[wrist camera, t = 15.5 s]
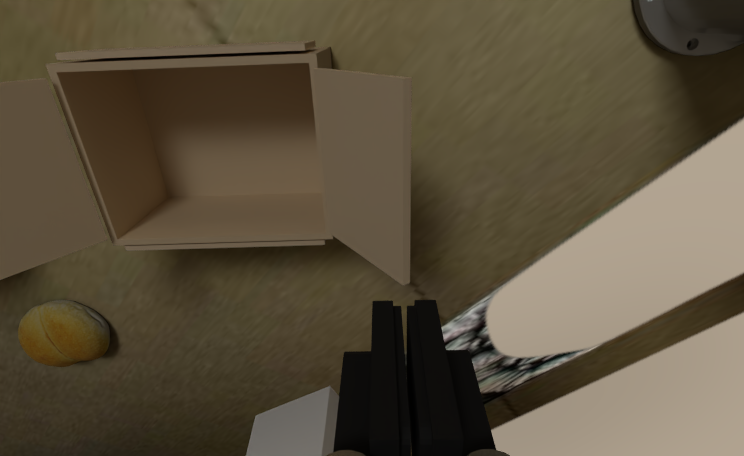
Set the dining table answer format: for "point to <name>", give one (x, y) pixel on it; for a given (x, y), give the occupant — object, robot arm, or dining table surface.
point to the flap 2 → (368, 164)
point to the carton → (200, 142)
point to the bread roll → (63, 333)
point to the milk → (297, 427)
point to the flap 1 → (39, 182)
